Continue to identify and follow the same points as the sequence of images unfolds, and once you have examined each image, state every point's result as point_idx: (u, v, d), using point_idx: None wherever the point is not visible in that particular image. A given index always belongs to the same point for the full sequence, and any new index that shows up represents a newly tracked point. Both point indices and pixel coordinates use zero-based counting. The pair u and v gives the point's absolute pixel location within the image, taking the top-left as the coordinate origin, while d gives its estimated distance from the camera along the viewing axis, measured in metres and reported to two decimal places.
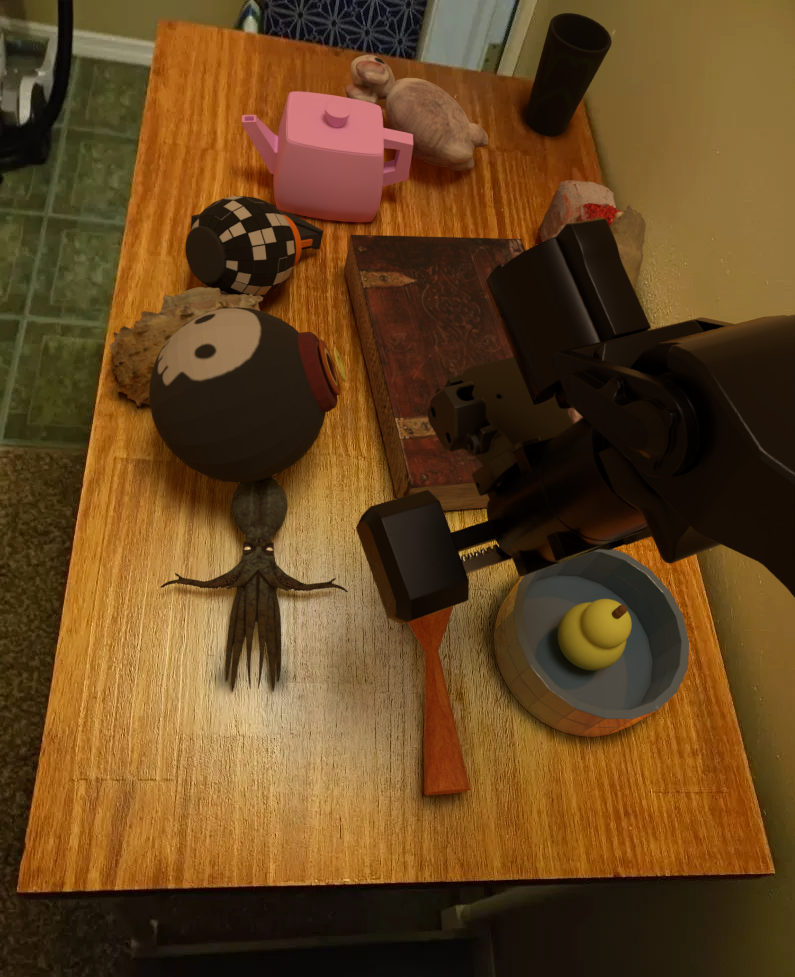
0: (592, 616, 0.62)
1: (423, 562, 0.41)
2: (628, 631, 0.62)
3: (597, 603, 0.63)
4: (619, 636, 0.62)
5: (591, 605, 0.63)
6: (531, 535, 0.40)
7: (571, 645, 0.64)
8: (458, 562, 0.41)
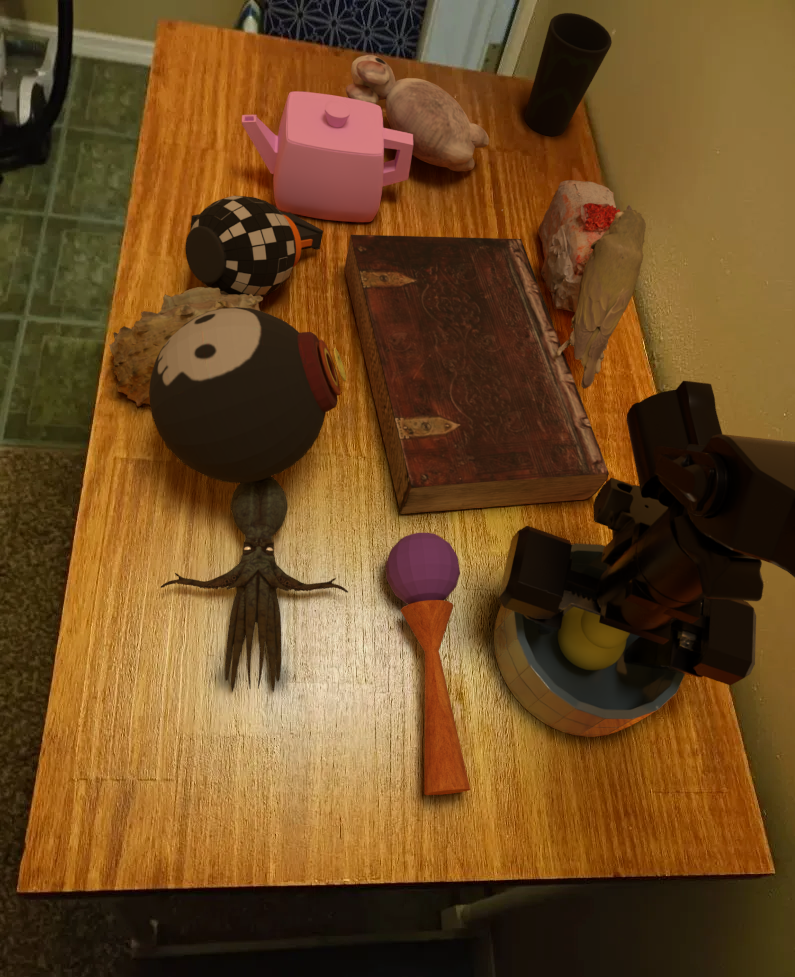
0: (592, 616, 0.62)
1: (539, 568, 0.58)
2: None
3: None
4: (619, 636, 0.62)
5: None
6: (618, 583, 0.56)
7: (571, 645, 0.64)
8: (562, 583, 0.58)
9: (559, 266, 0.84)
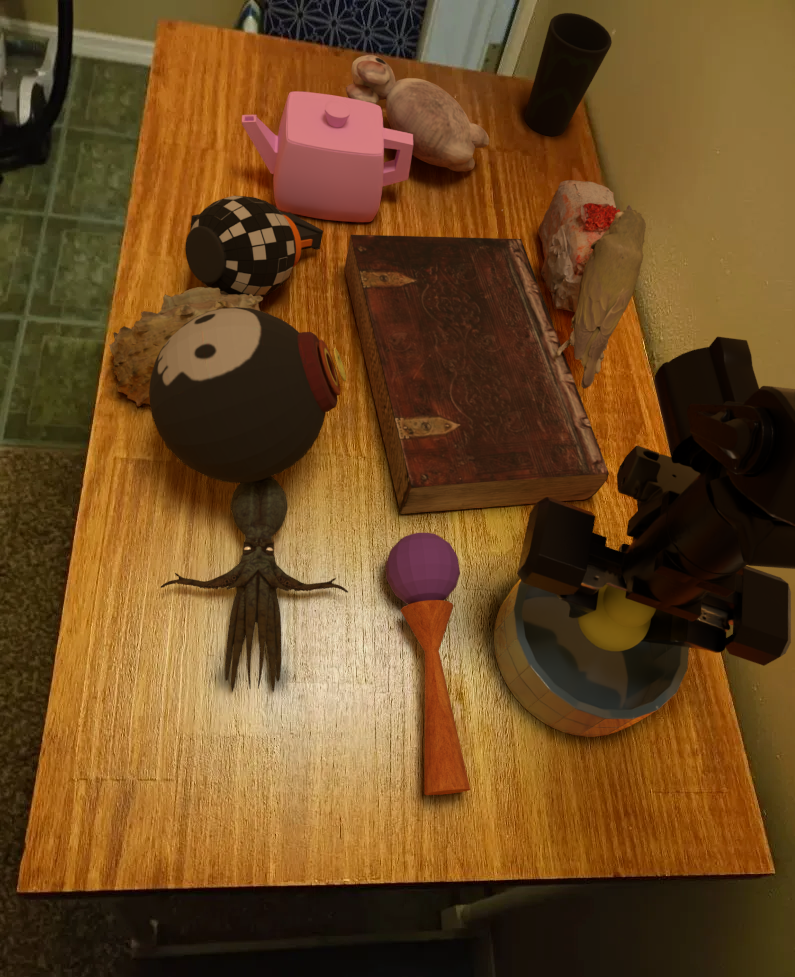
0: (615, 593, 0.59)
1: (561, 540, 0.54)
2: (654, 609, 0.58)
3: None
4: (645, 614, 0.58)
5: None
6: (646, 555, 0.52)
7: (593, 624, 0.60)
8: (586, 556, 0.54)
9: (559, 266, 0.84)
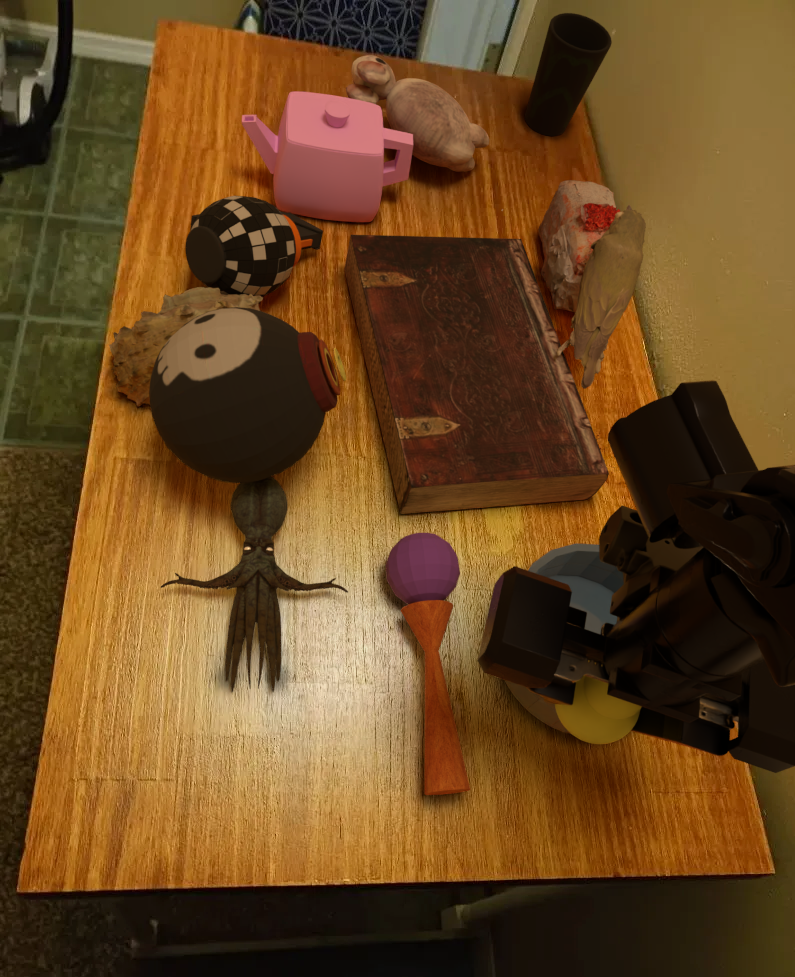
0: None
1: (530, 623, 0.45)
2: None
3: None
4: (632, 705, 0.48)
5: None
6: (632, 646, 0.43)
7: (571, 714, 0.51)
8: (559, 643, 0.45)
9: (559, 266, 0.84)
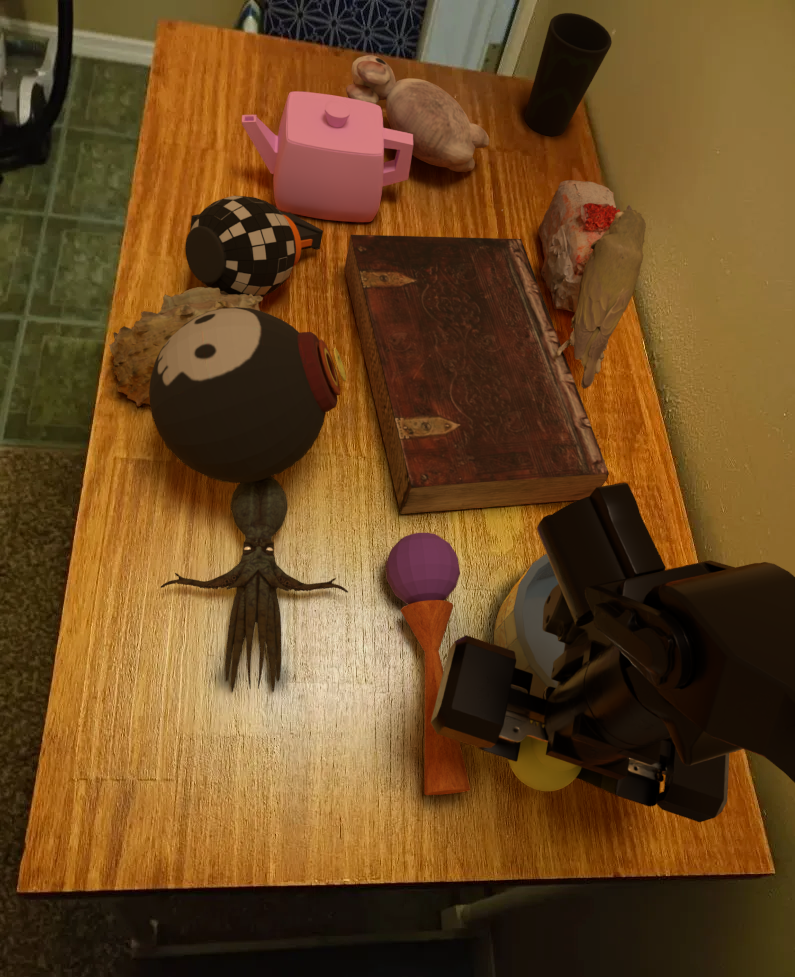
0: None
1: (477, 690, 0.50)
2: None
3: None
4: None
5: None
6: (566, 714, 0.48)
7: (520, 765, 0.56)
8: (503, 708, 0.50)
9: (559, 266, 0.84)
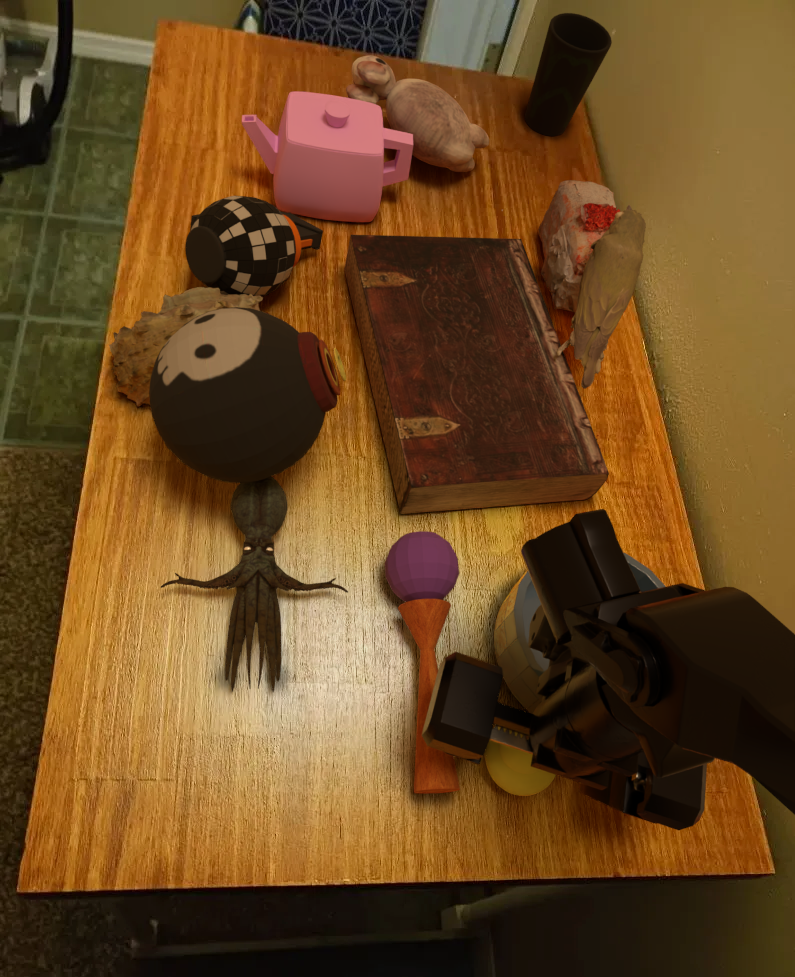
0: None
1: (465, 704, 0.53)
2: None
3: None
4: None
5: None
6: (549, 727, 0.50)
7: (493, 771, 0.59)
8: (490, 722, 0.52)
9: (559, 266, 0.84)
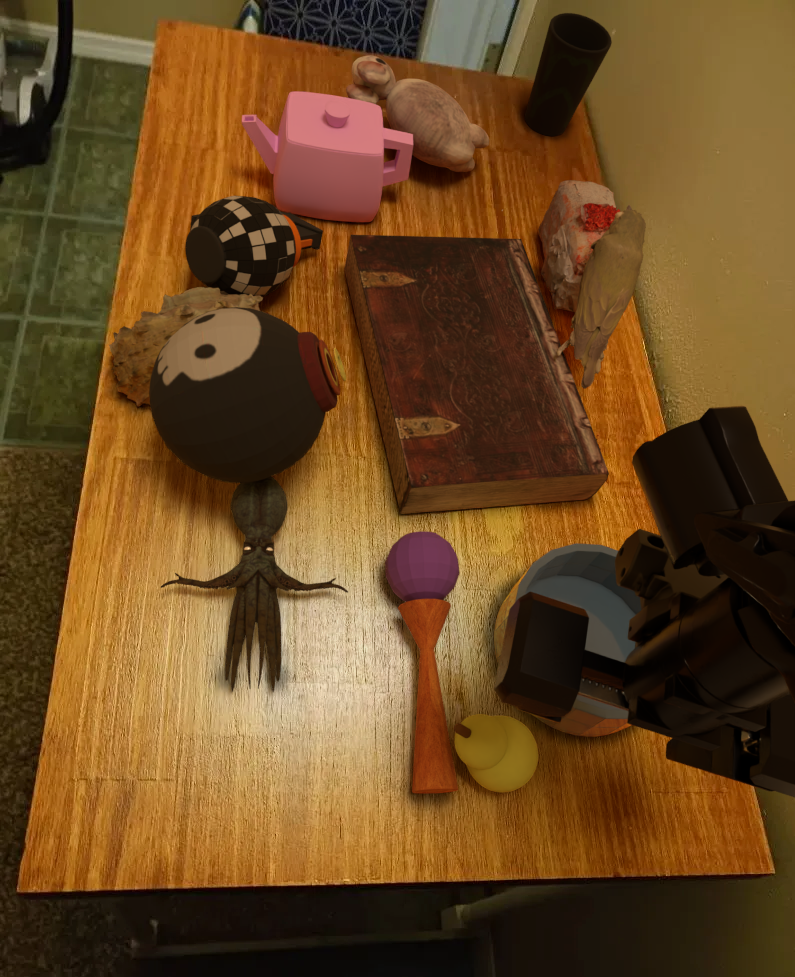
0: (454, 740, 0.58)
1: (548, 651, 0.44)
2: (488, 747, 0.56)
3: (460, 724, 0.59)
4: (477, 756, 0.56)
5: None
6: (653, 675, 0.42)
7: (469, 771, 0.60)
8: (578, 671, 0.44)
9: (559, 266, 0.84)
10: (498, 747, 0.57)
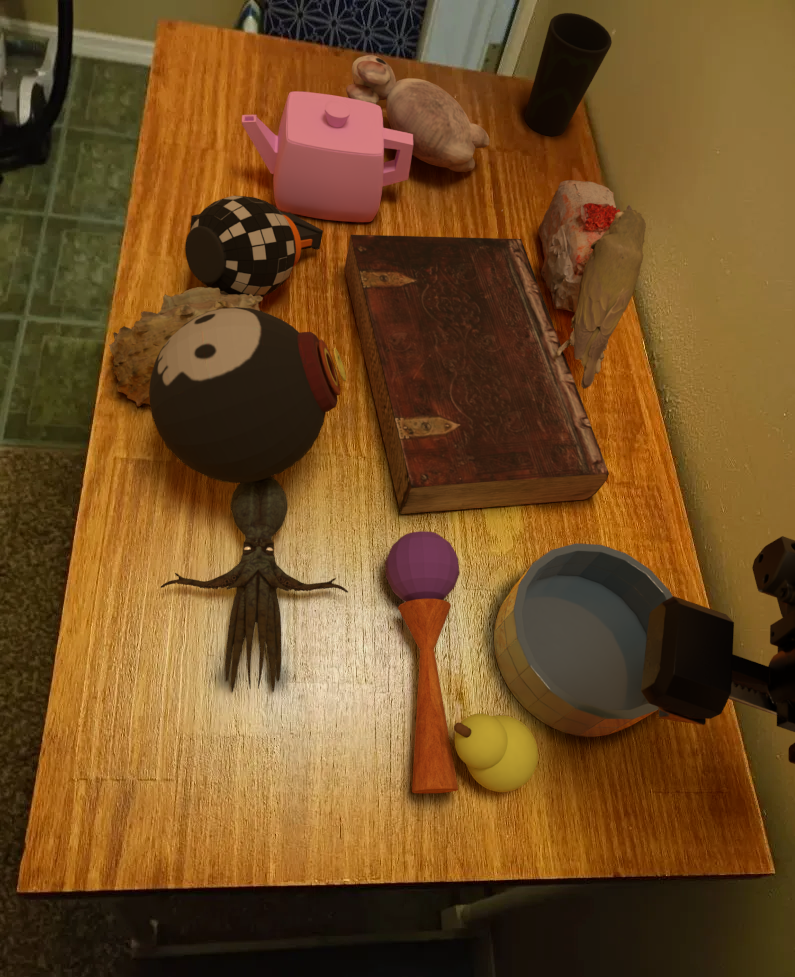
0: None
1: (698, 655, 0.45)
2: (488, 746, 0.56)
3: None
4: (477, 755, 0.56)
5: None
6: None
7: (469, 771, 0.60)
8: (728, 674, 0.45)
9: (559, 266, 0.84)
10: (498, 746, 0.57)
